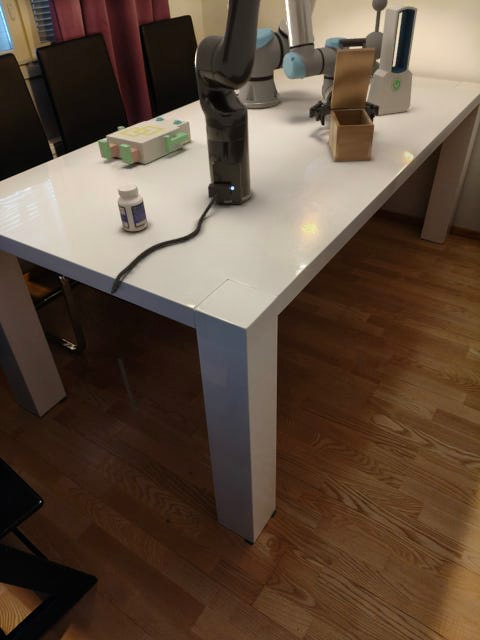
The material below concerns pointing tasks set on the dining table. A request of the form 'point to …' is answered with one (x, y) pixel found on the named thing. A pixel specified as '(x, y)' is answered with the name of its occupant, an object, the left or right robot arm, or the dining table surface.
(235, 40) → the left robot arm
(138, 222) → the pill bottle
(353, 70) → the lid
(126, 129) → the decorative block
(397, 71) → the electronic device
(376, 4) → the molecular model
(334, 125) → the chest
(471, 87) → the dining table surface
